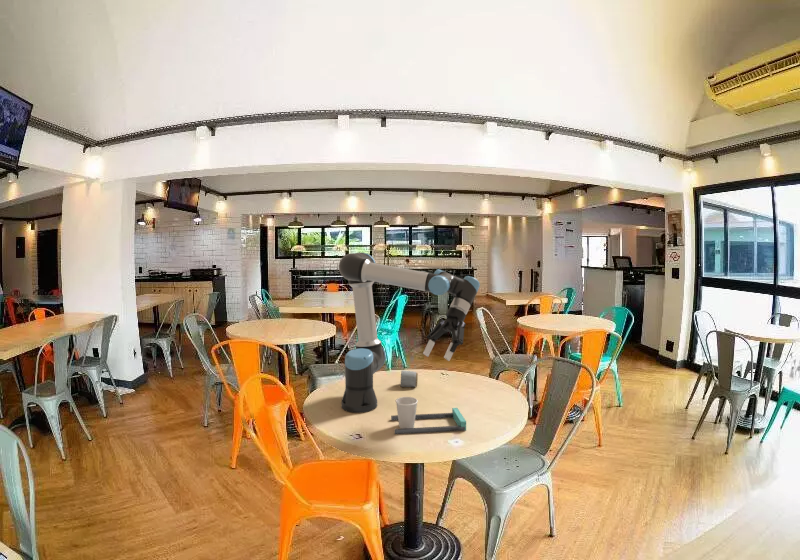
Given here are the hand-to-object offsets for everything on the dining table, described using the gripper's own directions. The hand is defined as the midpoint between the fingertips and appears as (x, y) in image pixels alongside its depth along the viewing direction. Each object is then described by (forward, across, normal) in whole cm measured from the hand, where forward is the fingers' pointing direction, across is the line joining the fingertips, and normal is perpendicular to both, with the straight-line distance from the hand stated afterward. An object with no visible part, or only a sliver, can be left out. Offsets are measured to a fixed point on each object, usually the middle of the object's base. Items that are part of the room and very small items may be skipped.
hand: (435, 357), depth 173 cm
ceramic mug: (+9, +40, -22) cm, 46 cm away
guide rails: (+24, -2, -9) cm, 26 cm away
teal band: (+18, -7, -18) cm, 26 cm away
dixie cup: (+28, +1, -3) cm, 28 cm away
